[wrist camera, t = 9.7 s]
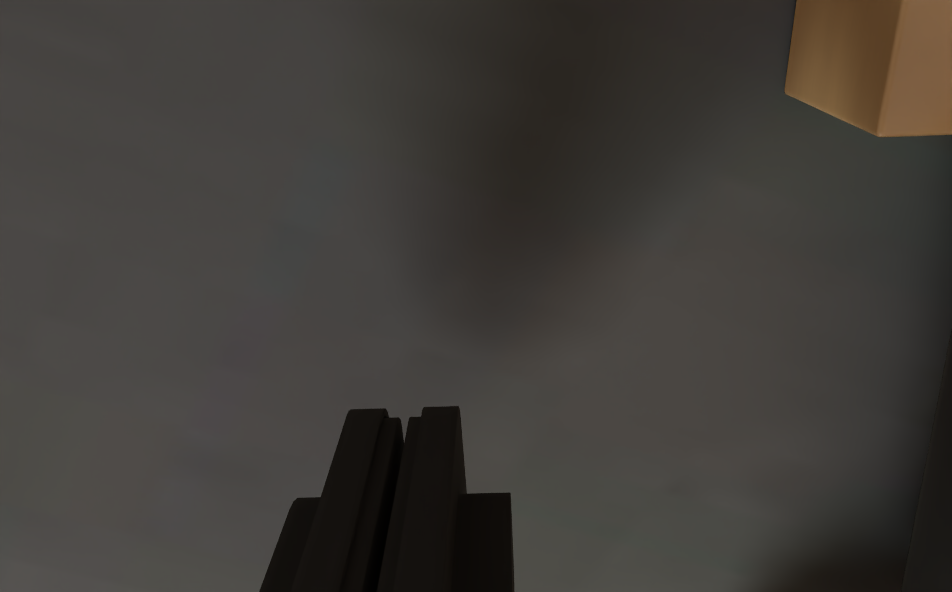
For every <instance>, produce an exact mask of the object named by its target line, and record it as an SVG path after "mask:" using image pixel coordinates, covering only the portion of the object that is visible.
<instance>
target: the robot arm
mask: <svg viewBox="0 0 952 592" xmlns="http://www.w3.org/2000/svg"><path fill="white" fill-rule="evenodd" d="M259 592H514V564H513V537H512V514H511V494H510V493H478V494H467V490H466V478H465V466H464V454H463V442H462V429H461V417H460V409H459V406H449V407H424V408H423V410H422V415H421V417H410V418H409V421H408V426H407V432H406V437H405V443H404V440H403V432H402V425H401V420H400V418H389V416H388V412H387V410H386V409H385V408H384V409H351V410H349V412H348V414H347V417H346V420H345V423H344V426H343V429H342V432H341V435H340V439H339V442H338V445H337V448H336V451H335V454H334V457H333V461H332V464H331V467H330V470H329V473H328V476H327V479H326V482H325V486H324V489H323V492H322V495H321V497H315V498H297V499H296V500H295V501H294V502H293V504H292V506H291V508H290V510H289V513H288V515H287V518H286V521H285V523H284V526H283V529H282V532H281V534H280V537H279V540H278V543H277V545H276V548H275V551H274V553H273V556H272V559H271V562H270V564H269V567H268V570H267V572H266V575H265V578H264V581H263V583H262V586H261V589H260V591H259Z"/></svg>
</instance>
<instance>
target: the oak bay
mask: <svg viewBox="0 0 952 592" xmlns="http://www.w3.org/2000/svg"><path fill="white" fill-rule="evenodd" d="M784 91H785V94H787V95H789V96H791V97H793V98H796V99H798V100H800V101H802V102H804V103H806V104H809V105H811V106H813V107H815V108H817V109H819V110H821V111H824V112H826V113H828V114H830V115H832V116H834V117H837V118H839V119H841V120H843V121H845V122H847V123H850V124H852V125H854V126H856V127H858V128H860V129H863V130H865V131H867V132H869V133H871V134H873V135H875V136H878V137H903V136H930V135H952V0H797V1H796V9H795V16H794V24H793V31H792V38H791V46H790V53H789V61H788V68H787V76H786V83H785V90H784Z"/></svg>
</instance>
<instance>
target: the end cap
mask: <svg viewBox="0 0 952 592" xmlns="http://www.w3.org/2000/svg"><path fill="white" fill-rule="evenodd" d="M901 592H952V331H951V336H950V341H949V347H948V352H947V357H946V362H945V367H944V372H943V377H942V383H941V388H940V393H939V398H938V403H937V408H936V413H935V418H934V424H933V429H932V434H931V439H930V444H929V449H928V454H927V460H926V465H925V470H924V475H923V480H922V485H921V490H920V496H919V501H918V506H917V511H916V516H915V521H914V526H913V532H912V537H911V542H910V547H909V552H908V557H907V562H906V568H905V573H904V578H903V583H902V588H901Z"/></svg>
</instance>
